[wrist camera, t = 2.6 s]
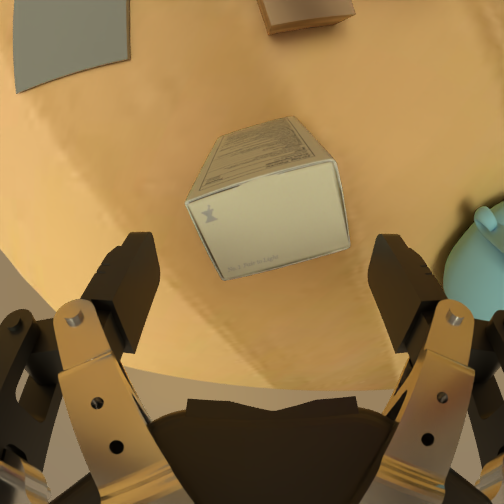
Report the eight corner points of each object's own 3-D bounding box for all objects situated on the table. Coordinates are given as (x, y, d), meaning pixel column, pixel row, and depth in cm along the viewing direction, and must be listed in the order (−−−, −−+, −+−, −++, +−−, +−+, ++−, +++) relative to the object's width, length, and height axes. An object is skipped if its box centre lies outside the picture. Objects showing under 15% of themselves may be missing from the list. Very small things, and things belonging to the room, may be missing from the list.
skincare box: (235, 185, 24) (217, 286, 14) (216, 134, 22) (177, 202, 12) (311, 164, 23) (353, 253, 13) (296, 111, 20) (336, 157, 10)
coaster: (132, -64, 11) (130, -67, 10) (130, 59, 18) (127, 59, 17) (19, -16, 11) (16, -16, 11) (20, 92, 18) (16, 93, 18)
